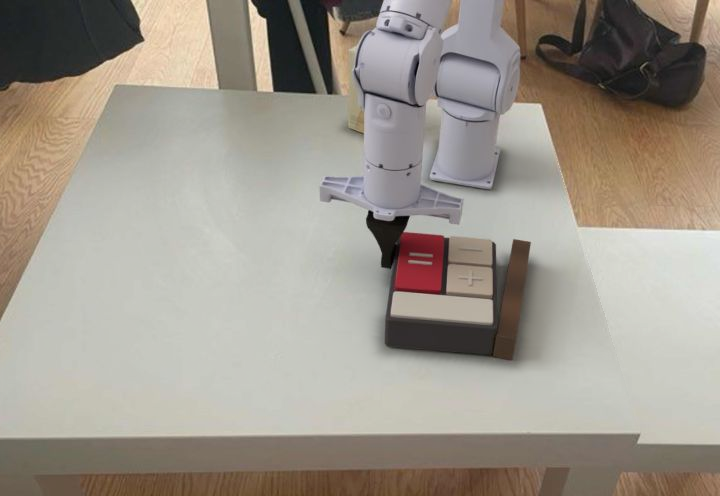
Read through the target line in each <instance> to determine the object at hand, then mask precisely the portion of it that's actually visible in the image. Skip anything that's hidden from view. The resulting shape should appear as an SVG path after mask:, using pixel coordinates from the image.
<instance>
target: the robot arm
mask: <svg viewBox="0 0 720 496" xmlns="http://www.w3.org/2000/svg"><path fill="white" fill-rule="evenodd" d="M504 1H505V0H460V2H459V12H458V21H457V23H456V24H454V25H452V26H450V27H448V28H447V29H444V27H445V23H446V20H447V17H448V14H449V11H450V8H451V5H452V2H453V0H383V2H382V4H381V8H380V11H379V14H378V17H377V20H376V24H375V26H376V27H374V28H373V29H369V30H366V31H365V32H363V34H362V35H361V38H360V39H359V42H358V43H357V45H358V46H357V50H356V53H355V59H354V67H353V70H352V76H353V82H354V86H355V88H356V89H357V91H358V105H359V106H360V109H362V110H363V111H364V133H363V175H357V176H356V175H355V176H354V175H353V176H334V175H333V176H332V175H324V176H323V177H322V180H321V181H320V183H319V185H318V188H319V189H318V190H319V191H318V192H319V202H321V203H331V201H332V200H333V201H340V202H343V203H344V202H346V203H351V204H353V205H356V206H358V207H360V208H363V209H366V210H368V211H367V215H366V218H365V224H366V228H367V229H368V230H369V231H370V233H371V234H372V236H373V237H374V239H375V241H376V243H377V244H378V247H379V250H380V252H381V257H380V259H381V260H380V268H382V269H388V270H392V269H393V262H394V255H395V248H396V242H397V240H398V239H399V237H400V236H401V235H402V234H403V232H405V230H406V228H407V226H408V224H409V221H410V217H411V216H426V217H433V218H439V219H445V220H448V223H449V224H452V225H457V226H459V225H460V223H461V219H462V216H463V209H464V198H461V197H456V196H452V195H449V194H446V193H444V192H442V191H439V190H437V189H434V188H432V187H429V186H426V185H425V184H423V183H422V172H423V171H422V169H423V156H424V155H423V154H424V143H425V140H424V139H425V126H426V112H427V103H428V101H429V100H430V98H431V96H432V97H434V98H437V103H436V105H437V107H439V108H440V109H441V115H440V124H439V125H440V126H439V139H438V149H437V152H436V154H435V155H436V156H435V158H434V161H433V163H432V167H431V170H430V174H429V179H430V180H431V181H436V182H441V183H448V184H452V185H453V184H454V185H461V186H466V187H473V188H479V189H484V190H491V189H492V188H493V185H494V180H495V175H496V171H497V166H498V162H499V159H500V155H501V154H500V153H501V149H500V148H499V147H497V140H498V134H499V133H498V132H499V125H500V120H501V119H500V118H501V116H503V115H505V114H506V113H508V112H509V111H510V110H511V109H512V107H513V105H514V102H515V99H516V98H517V97H516V96H517V94H518V90H519V86H520V80H521V67H520V66H521V65H520V64H521V47H520V45H519V44H518V43H517V42H516V41H515V40H514V39H513V38H512V37H511V36H510V35H509V34H508V33H507V32H506V31H505V29H503V27H502V26H501V24H502V18H503V17H502V16H503V9H504V3H505V2H504ZM443 29H444V31H443Z"/></svg>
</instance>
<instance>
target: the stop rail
mask: <svg viewBox="0 0 720 496" xmlns="http://www.w3.org/2000/svg"><path fill="white" fill-rule="evenodd" d="M531 243H532V242H531V241H528V240H522V239H515V238H513V239H512V243H511V249H510V255H509V260H508V268H507V273H506V278H505V282H504V289H503V295H502V300H501V305H500V310H499V317H498V321H497V333H496V339H495V345H494V351H493V353H492V357H493V358H497V359H502V360H507V361H508V360H509V361H513V359H514V358H513V357H514V352H515V348H516V342H517V337H518V331H519V323H520V317H521V310H522V304H523V299H524V298H523V297H524V291H525V285H526V284H525V283H526V277H527V271H528V264H529V258H530V250H531Z"/></svg>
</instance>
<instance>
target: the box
mask: <svg viewBox="0 0 720 496" xmlns="http://www.w3.org/2000/svg"><path fill="white" fill-rule="evenodd" d="M357 46H358V44H356V45H354V46H352V47H350V48H349V49H348V105H347V106H348V113H347V114H348V115H347V116H348V125H347V128H348V129H351V130H354V131H355V132H358V133H361V134H364V111H363V110H362V109H360V106H359V105H358V91H357V89H356V88H355V86H354V82H353V76H352V70H353V67H354V59H355V53H356V50H357Z"/></svg>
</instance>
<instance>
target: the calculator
mask: <svg viewBox="0 0 720 496" xmlns="http://www.w3.org/2000/svg"><path fill="white" fill-rule="evenodd" d="M497 279H498V277H497V244H496V242H495V241H493V240H492V239H489V238H488V239H487V238H478V237H468V236H467V237H465V236H456V235H455V236H454V235H451V236H449V237H445V236H444V235H443V234H434V233H433V234H432V233H420V232H410V231H404V232H403V234H402V235H401V236H400V237H399V239H398V240H397V242H396V248H395V255H394V262H393V265H392V268H391V276H390V283H389V292H388V297H387V305H386V312H385V322H384V323H385V324H384V345H385V346H387V347H393V348H405V349H415V350H417V349H418V350H428V351H441V352H453V353H463V354H464V353H465V354H474V355H475V354H476V355H488V356H489V355H490V356H491V355H493V351H494V345H495V339H496V333H497V328H498V288H497V287H498V283H497Z"/></svg>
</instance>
